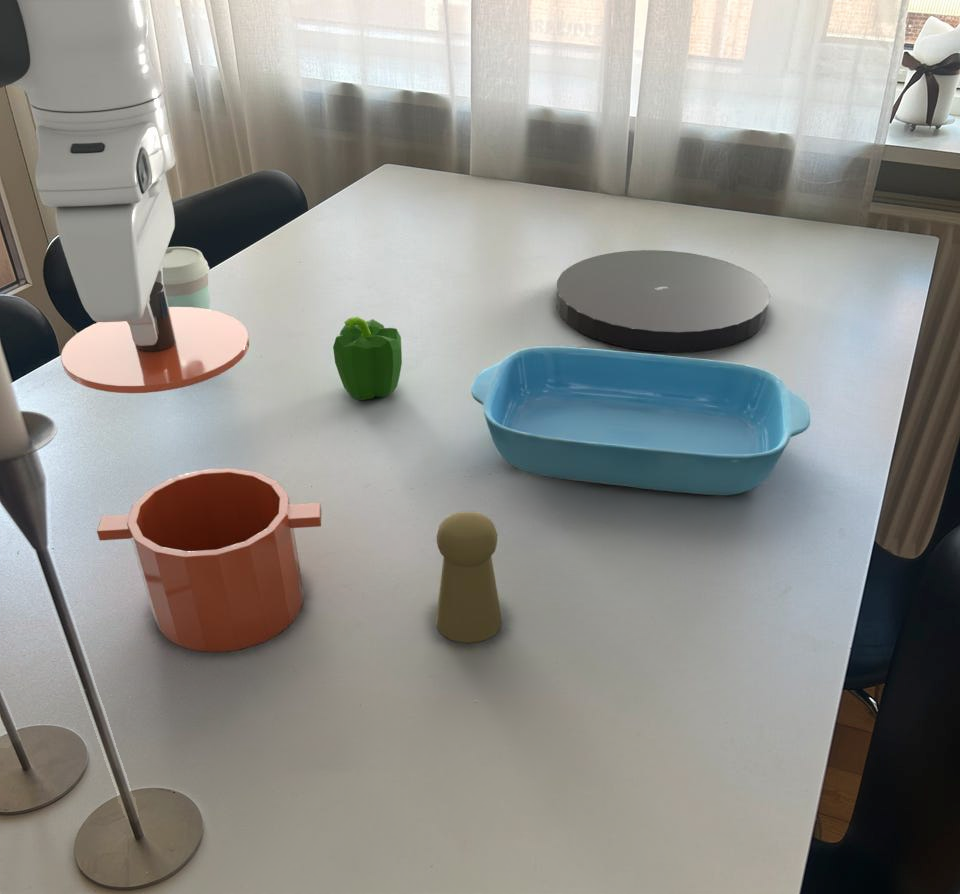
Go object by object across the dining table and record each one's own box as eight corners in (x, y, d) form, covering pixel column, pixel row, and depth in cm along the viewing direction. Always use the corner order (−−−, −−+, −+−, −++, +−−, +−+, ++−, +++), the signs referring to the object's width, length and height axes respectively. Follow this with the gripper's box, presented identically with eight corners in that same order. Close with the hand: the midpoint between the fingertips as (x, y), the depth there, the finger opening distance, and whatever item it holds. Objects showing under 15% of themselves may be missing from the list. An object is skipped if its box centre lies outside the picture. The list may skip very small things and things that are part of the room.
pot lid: (243, 394, 76) (230, 322, 72) (46, 406, 75) (23, 334, 71) (256, 315, 87) (245, 249, 83) (84, 324, 86) (65, 258, 82)
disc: (659, 254, 160) (661, 234, 158) (810, 314, 142) (814, 293, 140) (513, 300, 146) (513, 280, 144) (660, 374, 128) (663, 352, 126)
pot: (331, 644, 89) (317, 548, 82) (113, 659, 88) (81, 563, 81) (332, 554, 99) (320, 462, 92) (137, 567, 98) (110, 474, 91)
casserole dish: (794, 417, 119) (806, 361, 115) (802, 521, 103) (817, 461, 98) (491, 391, 125) (491, 336, 120) (453, 486, 108) (452, 427, 104)
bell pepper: (394, 372, 129) (389, 296, 122) (411, 400, 123) (407, 322, 117) (330, 382, 127) (322, 305, 121) (345, 411, 121) (337, 333, 115)
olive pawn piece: (514, 614, 92) (516, 515, 85) (478, 651, 88) (476, 550, 81) (460, 592, 94) (457, 493, 87) (422, 627, 91) (416, 527, 83)
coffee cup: (208, 327, 140) (191, 240, 132) (233, 349, 135) (217, 259, 127) (149, 342, 136) (128, 253, 128) (172, 365, 131) (152, 274, 123)
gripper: (89, 106, 78) (131, 281, 87) (28, 188, 63) (87, 390, 72) (171, 103, 78) (205, 277, 88) (130, 184, 63) (176, 385, 72)
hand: (151, 329), depth 80 cm, fingers closed on pot lid, 3 cm apart
